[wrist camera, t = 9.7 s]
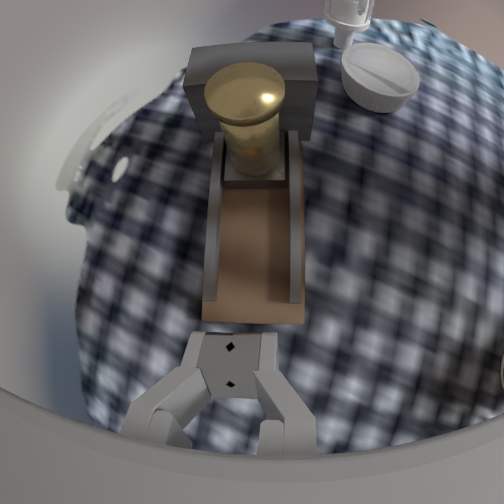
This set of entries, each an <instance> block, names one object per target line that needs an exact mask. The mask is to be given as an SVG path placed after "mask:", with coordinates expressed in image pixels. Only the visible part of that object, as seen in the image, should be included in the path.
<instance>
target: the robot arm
mask: <svg viewBox="0 0 504 504" xmlns="http://www.w3.org/2000/svg"><path fill="white" fill-rule="evenodd" d="M211 397H227V398H234V397H235V398H246V399H258V401H259V403H260V404H261V406H262V408H263V410H264V411H265V413H266V415H267V416H268V418H269V420H264V421H263V422H262V423H261V425H260V434H259V443H258V452H257V455H240V454H228V453H217V452H208V451H200V450H193V449H191V448H192V442H191V441H190V439H189V438H188V436H187V435H186V434H185V432H184V431H183V429H184V428H185V427H186V426H187V425H188V424H189V423H190V421H191V420H192V419H193V418H194V417H195V416H196V415H197V414H198V413H199V412H200V410H201V409H202V408H203V407H204V406H205V405H206V404H207V403H208V401H209V400H210V399H211ZM0 504H504V413H503V414H501V415H498V416H496V417H493V418H491V419H488V420H486V421H483V422H480V423H477V424H475V425H472V426H469V427H466V428H463V429H460V430H456V431H453V432H450V433H446V434H443V435H439V436H436V437H432V438H428V439H424V440H420V441H415V442H411V443H406V444H401V445H396V446H390V447H385V448H379V449H372V450H365V451H357V452H348V453H338V454H325V455H316V418H315V417H314V416H313V414H312V413H311V412H310V410H309V409H308V408H307V406H306V405H305V404H304V403H303V401H302V400H301V399H300V397H299V396H298V395H297V393H296V392H295V391H294V389H293V388H292V387H291V385H290V384H289V383H288V381H287V380H286V379H285V377H284V376H283V375H282V373H281V372H280V371H279V360H278V335H277V333H276V332H273V333H220V332H198V331H193V332H192V333H191V335H190V338H189V341H188V344H187V347H186V350H185V353H184V356H183V359H182V363H181V366H180V367H177V366H176V367H175V368H174V369H173V370H172V371H170V372H169V373H168V374H167V375H165V376H164V377H163V378H162V379H161V380H159V381H158V382H157V383H156V384H155V385H153V386H152V387H151V388H150V389H148V390H147V391H146V392H145V393H143V394H142V395H141V396H140V397H139V398H137V399H136V400H135V401H134V402H132V403H131V404H130V407H129V409H128V412H127V415H126V417H125V420H124V423H123V425H122V428H121V431H120V434H116V433H113V432H109V431H106V430H103V429H99V428H96V427H93V426H90V425H87V424H84V423H81V422H78V421H75V420H72V419H70V418H67V417H64V416H62V415H59V414H57V413H54V412H52V411H49V410H47V409H44V408H42V407H40V406H38V405H35V404H33V403H31V402H29V401H27V400H24V399H22V398H20V397H18V396H16V395H14V394H12V393H10V392H8V391H6V390H5V389H3V388H1V387H0Z"/></svg>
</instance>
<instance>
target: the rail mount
mask: <svg viewBox="0 0 504 504" xmlns="http://www.w3.org/2000/svg"><path fill="white" fill-rule="evenodd" d="M244 62H253V63H260V64H264V65H267V66H269V67H271V68H273V69H275V70H276V71H277V72H278V73H279V74H280V75H281V76H282V78H283V80H284V83H285V101H284V105H283V107H282V109H281V110H280V111H279V131H284V159H285V188H238V189H227V186H226V184H225V181H224V176H225V163H226V150H227V145H226V141H225V138H224V135H223V132H222V128H221V125H220V122H219V121H218V120H217V119H216V118H214V117H213V116H212V114H211V113H210V111H209V109H208V106H207V103H206V100H205V97H204V90H205V86H206V84H207V82H208V81H209V79H210V78H211V77H212V76H213V75H214V74H215V73H216V72H218V71H219V70H221V69H223V68H225V67H227V66H230V65H233V64H237V63H244ZM317 87H318V76H317V69H316V63H315V57H314V52H313V46H312V43H310V42H250V43H234V44H223V45H213V46H204V47H197V48H192V51H191V55H190V59H189V62H188V66H187V70H186V74H185V78H184V82H183V89H184V91H185V94H186V96H187V98H188V101H189V103H190V106H191V108H192V110H193V113H194V115H195V117H196V120H197V122H198V125H199V127H200V129H201V132H202V134H203V137H204V139H205V141H206V143H207V142H214V148H213V158H212V168H211V179H210V190H209V201H208V214H207V227H206V241H205V257H204V275H203V295H202V321H211V322H231V323H258V324H304V313H305V226H304V189H303V165H302V146H301V141H310V137H311V130H312V123H313V116H314V109H315V102H316V95H317Z"/></svg>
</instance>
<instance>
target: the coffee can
mask: <svg viewBox="0 0 504 504" xmlns="http://www.w3.org/2000/svg"><path fill="white" fill-rule="evenodd" d="M500 377H501V383H502V387H503V389H504V353H503V357H502V361H501V369H500Z"/></svg>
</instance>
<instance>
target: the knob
mask: <svg viewBox="0 0 504 504" xmlns="http://www.w3.org/2000/svg"><path fill="white" fill-rule="evenodd" d="M204 97H205V100H206V103H207V106H208V109H209V111H210V113H211V114H212V116H213V117H214V118H216V119H217V120H218V121H219V122H220V125H221V128H222V132H223V135H224V138H225V141H226V145H227V150H226V163H225V176H224V181H225V184H226V186H227V189H238V188H285V159H284V131H279V111H280V110H281V109H282V107H283V105H284V101H285V83H284V80H283V78H282V76H281V75H280V74H279V73H278V72H277V71H276V70H275V69H273V68H271V67H269V66H267V65H264V64H260V63H253V62H244V63H237V64H233V65H230V66H227V67H225V68H223V69H221V70H219V71H218V72H216V73H215V74H214V75H213V76H212V77H211V78H210V79H209V81H208V82H207V84H206V86H205V90H204Z"/></svg>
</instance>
